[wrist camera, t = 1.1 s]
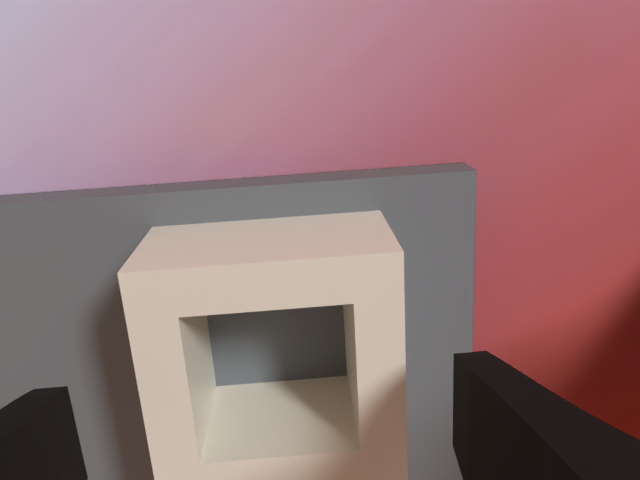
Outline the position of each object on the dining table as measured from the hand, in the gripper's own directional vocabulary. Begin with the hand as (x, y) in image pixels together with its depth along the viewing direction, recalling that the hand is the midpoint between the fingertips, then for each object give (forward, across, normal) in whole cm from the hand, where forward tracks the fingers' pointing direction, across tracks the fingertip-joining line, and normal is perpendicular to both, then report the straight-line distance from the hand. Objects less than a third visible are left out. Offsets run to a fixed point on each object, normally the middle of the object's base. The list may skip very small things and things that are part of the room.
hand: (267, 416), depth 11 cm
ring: (+4, 0, 0) cm, 4 cm away
